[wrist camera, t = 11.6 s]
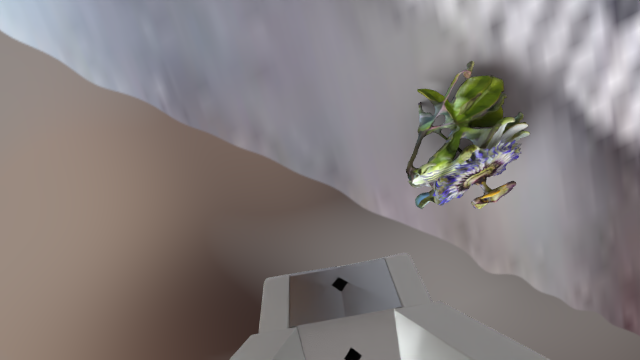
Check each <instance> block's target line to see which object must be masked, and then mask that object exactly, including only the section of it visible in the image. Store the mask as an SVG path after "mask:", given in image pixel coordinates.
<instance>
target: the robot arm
mask: <svg viewBox="0 0 640 360" xmlns="http://www.w3.org/2000/svg"><path fill="white" fill-rule="evenodd" d="M230 360H550V359H548V358H546V357H544V356H543V355H541V354H539V353H537V352H535V351H533V350H531V349H529V348H528V347H526V346H524V345H522V344H520V343H518V342H516V341H515V340H513V339H511V338H509V337H507V336H505V335H503V334H502V333H500V332H498V331H496V330H494V329H492V328H490V327H488V326H487V325H485V324H483V323H481V322H479V321H477V320H475V319H474V318H472V317H470V316H468V315H466V314H464V313H462V312H460V311H458V310H457V309H455V308H453V307H451V306H449V305H448V304H446V303H444V302H442V301H436V302H433V301H432V299H431V297H430V295H429V293H428V291H427V289H426V287H425V285H424V283H423V281H422V278H421V276H420V274H419V272H418V270H417V268H416V266H415V264H414V262H413V260H412V258H411V256H410V254H409V253H406V252H405V253H401V254H396V255H392V256H387V257H384V258H381V259H376V260H370V261H365V262H360V263H355V264H350V265H345V266H340V267H330V268H324V269H318V270H312V271H306V272H300V273H293V274H291V275H289V274H287V275H282V276H276V277H271V278H267V279H266V280H265V282H264V289H263V298H262V308H261V316H260V325H259V334H255V335H251V336H250V337H249V338H248V339H247V341H246V342H245V343H244V344H243V345H242V346H241V347H240V349H239V350H238V351H237V352H236V353H235V354H234V355H233V356H232V357H231V359H230Z"/></svg>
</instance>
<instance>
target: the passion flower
mask: <svg viewBox="0 0 640 360" xmlns="http://www.w3.org/2000/svg"><path fill="white" fill-rule="evenodd" d="M473 66H474V62H473V61H470V62H469V63H468V64H467V69H466V70H464V71H462V72H460V73H459V74H457V75H456V76H455V78H454V80H453V82H452V83H451V85H450V87H449V89H448V91H447V93H446V95H445V97H444V96H443V95H441V94H439V93H438V92H436V91H434V90H430V89H418V90H417V91H418V92H419V93H421V94H423V95H424V96H425V97H427V98H428V99H429V100H430V101H431V102H432V103H433V105H434V107H435V114H434V115H432V114H431V113H425V112H423V110H422V106H421V102H420V103H419V116H420V125H419V128H418V133H419V137H418V140H417V143H416V146H415V149H414V152H413V154H412V157H411V159H410V161H409V162H408V166H407V169H406V173H407V174H408V178H409V183H410V185H411V186H413V187H415V188H417V187H418V188H422V187H423V186H429V187H431V188H432V190H431V191H430V192H427V193H422V194H420V195H418V196H417V198H416V200H415V202H416V206H417V207H419V208H421V209H422V208H424V206H425V205H426V204H427V203H429V202H430V201H431V202H434V203H436V204H437V205H444V203H447V202H449V201H451V199H453V198H460V197H461V196H463V194H464V192H465V191H466V190H467V189H469V187H470V185H473V184H476V185H479V186H480V187H481V188H482V189H483V191H484V195H483V196H481V197H478V198H476V199H474V200H473V201H472V202H471V204H472V205H473V207H474V208H478V209H481V208H482V207H483V206H485V205H486V204H488V203H489V202H490V203H491V202H497V201H498V200H499V199H500V198H501V197H502V196H504V195H505V194H507V193H508V192H509V191H511V190H512V188H513V187H514V186H515V185H516V182H515V181H511V182H508V183H506V184H505V185H502V186H500V187H498V188H496V189H493V190H492V189H490V188H489V187H488V186H487V185H486V178H487V177H493V176H495V175H499V174H501V173H502V172H503V171H504V170H506V168H505V167H506V165H507V164H508V163H510V162H511V161H514V160H517V158H518V157H519V156H518V155H519V154H520V153H521V152H520V151H519V150H520V149H521V148H519V146H520V145H521V144H518V143H516V142H517V141H518V140H519V139H521V138H523V137H526V136H528V135H529V134H530V133H529V132H527V131H524V130H523V129H524V128H526V127H528V126H529V125H528V124H526V122H523V123H519V122H520V120H522V119H523V116H524V115H523V114H522V113H521V112H519V113H518V115H517V116H516V117H515V118H513V117H504V118H503V109H502V107H501V106H502V104H504V98H507V96H506V95H505V94H502V93H501V92H503V91H504V82H503V80H502V79H498V78H496V77H493V76H492V75H487V76H477V77H470V76H471V74H472V70H473ZM461 73H463V75H464V77H465V78H467V80H466V81H465V82H464V83H463V84H461V86H460V88H459V89H458V91H457V93H456V95H455V97H454V98H453V100H452V102H449V101H448V100H447V98H448V96H449V95H450V92H451V89H452V88H453V86H454V84H455V83H456V81H457V79H458V77H459V75H460V74H461ZM468 78H469V79H468ZM440 114H442V115H445V119H446V122H445V123H444V124H442V125H440V126H432V124H433V123H434V121H435V119H436V118H437V117H438V116H439V115H440ZM474 127H492V128H489V129H485V128H482V129H473V128H474ZM443 128H450V129H451V130H452V132H451V133H450V135H449V137H448V139H447V138H446V137H445V136H444V135H443V134H442V133H441V130H442V129H443ZM432 132H435V133H437V134H439V135H440V136H442V137H443V138H444V139H446V140H447V141H446V143H445V144H444V146H442V147H441V148H440V149H439V150H438V151H437V152H436V153H435V155H433V156H432V157H431V158H430V159H429V161H428V163H427V164H425V165H422V166H421V167H420V168H415V167H413V161H414V159H415V157H416V155H417V152H418V149H419V146H420V144H421V140H422V139H423V137H425V136H426V135H428V134H430V133H432ZM462 138H467V139H469V140H471V141H472V142H473V143H474V145H470V146H468V147H466V148H465V149H464V150H463V151H462V150H461V149H460V148H459V144H460V139H462ZM457 150H458V151H459V152H460V154H459V156H458V158H457V159H456V160H454V161H453V159H454V157H455V156H456V152H457Z"/></svg>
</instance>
